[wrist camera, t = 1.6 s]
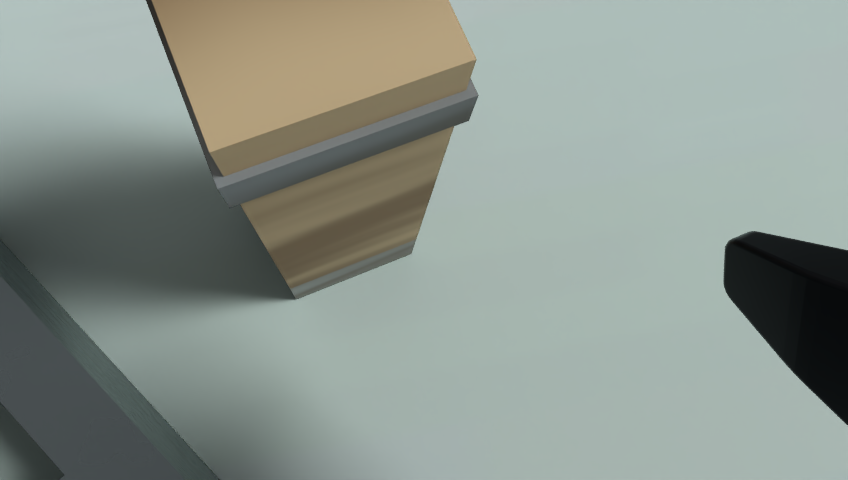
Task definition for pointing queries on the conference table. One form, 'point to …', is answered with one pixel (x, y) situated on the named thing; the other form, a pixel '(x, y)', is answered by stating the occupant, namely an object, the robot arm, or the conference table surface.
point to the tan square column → (322, 119)
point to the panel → (78, 393)
